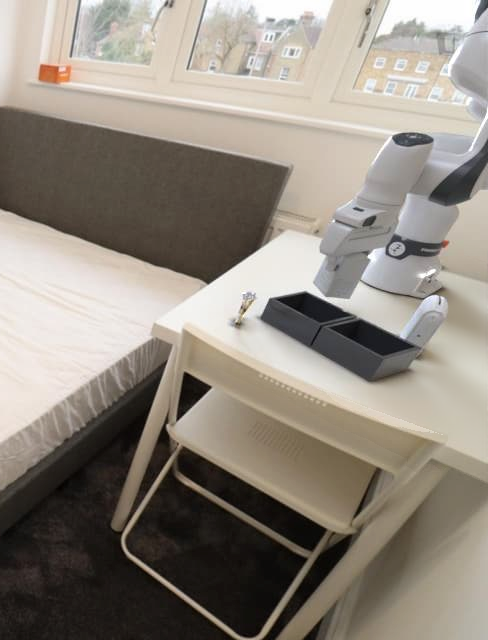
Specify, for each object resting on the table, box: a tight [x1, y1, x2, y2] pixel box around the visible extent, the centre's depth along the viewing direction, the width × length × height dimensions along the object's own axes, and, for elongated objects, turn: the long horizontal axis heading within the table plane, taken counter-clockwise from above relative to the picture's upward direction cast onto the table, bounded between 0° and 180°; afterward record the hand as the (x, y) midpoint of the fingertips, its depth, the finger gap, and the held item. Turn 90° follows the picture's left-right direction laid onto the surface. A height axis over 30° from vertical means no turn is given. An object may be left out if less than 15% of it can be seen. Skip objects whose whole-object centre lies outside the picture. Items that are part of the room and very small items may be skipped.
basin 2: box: [310, 317, 422, 382], centre depth 108 cm, size 13×13×6 cm
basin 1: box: [259, 290, 359, 347], centre depth 118 cm, size 13×13×6 cm
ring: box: [234, 290, 258, 324], centre depth 118 cm, size 7×3×8 cm, turn 139°
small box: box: [312, 252, 371, 300], centre depth 122 cm, size 8×6×10 cm
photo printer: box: [399, 294, 449, 358], centre depth 111 cm, size 10×4×12 cm, turn 140°
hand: (342, 268), depth 121 cm, fingers closed on small box, 8 cm apart
